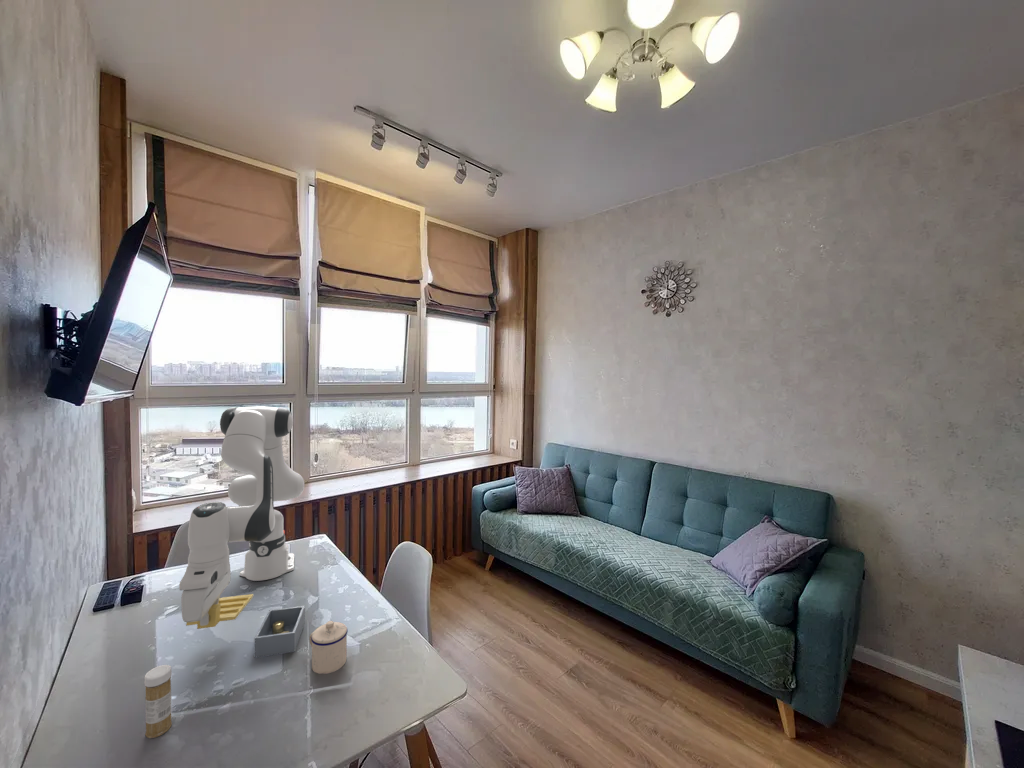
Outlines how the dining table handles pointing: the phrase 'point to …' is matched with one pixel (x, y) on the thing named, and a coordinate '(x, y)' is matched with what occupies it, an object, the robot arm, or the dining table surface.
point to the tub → (284, 641)
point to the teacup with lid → (329, 647)
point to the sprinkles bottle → (158, 701)
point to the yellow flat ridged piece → (225, 610)
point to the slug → (278, 627)
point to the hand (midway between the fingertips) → (209, 618)
